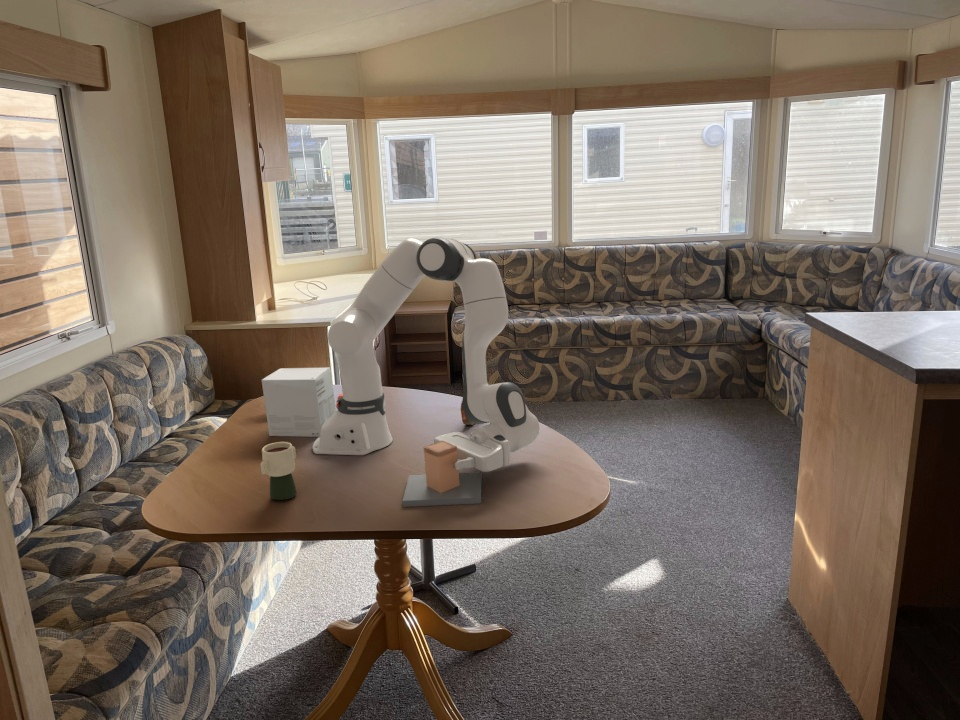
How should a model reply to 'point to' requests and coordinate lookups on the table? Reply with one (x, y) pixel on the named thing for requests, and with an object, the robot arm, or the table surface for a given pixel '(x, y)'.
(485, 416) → the robot arm
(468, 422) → the tin
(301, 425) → the supplement box
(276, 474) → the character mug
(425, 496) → the base
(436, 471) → the tall lidded tan box
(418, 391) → the table surface
